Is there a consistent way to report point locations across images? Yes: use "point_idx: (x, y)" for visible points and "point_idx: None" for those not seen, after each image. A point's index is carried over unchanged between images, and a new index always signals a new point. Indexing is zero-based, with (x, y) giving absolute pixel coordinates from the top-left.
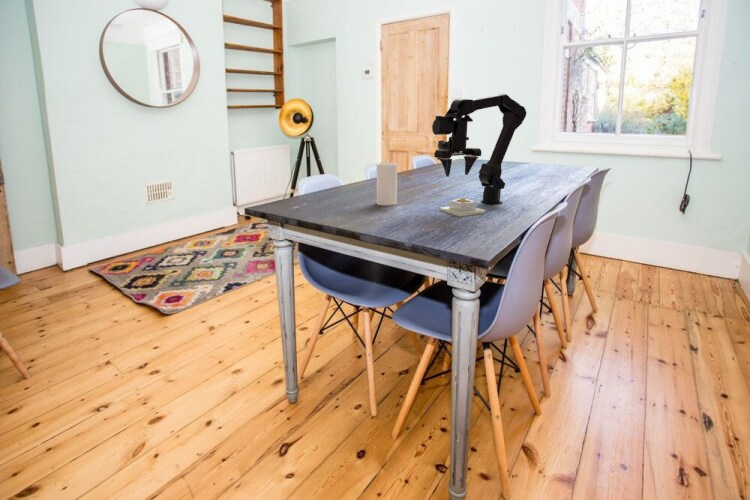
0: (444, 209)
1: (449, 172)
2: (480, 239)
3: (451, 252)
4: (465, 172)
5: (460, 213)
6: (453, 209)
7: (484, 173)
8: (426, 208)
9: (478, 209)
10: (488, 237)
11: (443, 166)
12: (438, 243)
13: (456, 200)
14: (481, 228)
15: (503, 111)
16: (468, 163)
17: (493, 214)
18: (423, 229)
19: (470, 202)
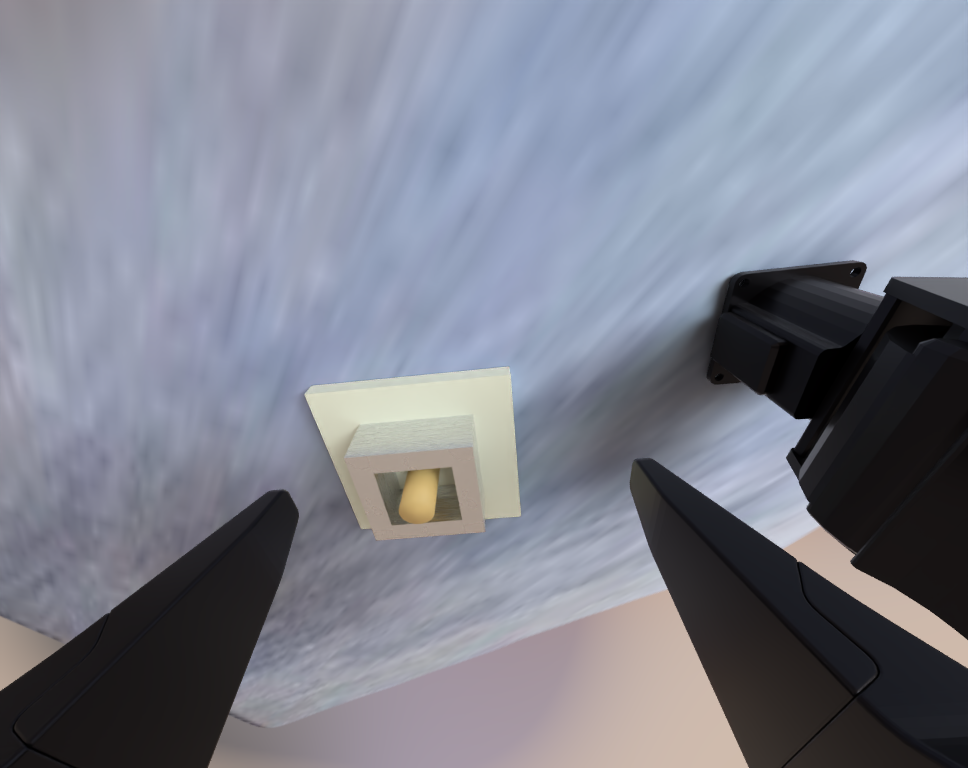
0: (321, 433)
1: (270, 589)
2: (313, 675)
3: None
4: (645, 489)
5: (367, 524)
6: None
7: (899, 518)
8: (233, 306)
9: (500, 495)
10: (342, 672)
11: (68, 650)
12: None
13: (390, 471)
14: (367, 628)
15: None
16: (758, 706)
17: (533, 531)
18: None
19: (441, 534)
